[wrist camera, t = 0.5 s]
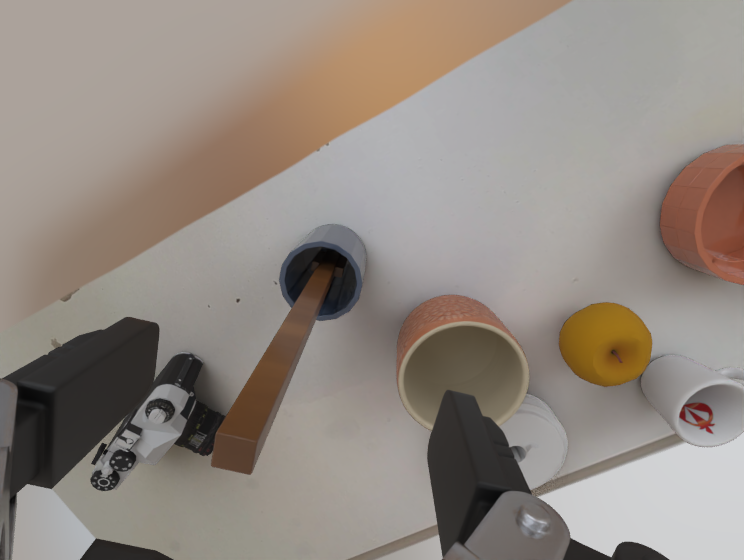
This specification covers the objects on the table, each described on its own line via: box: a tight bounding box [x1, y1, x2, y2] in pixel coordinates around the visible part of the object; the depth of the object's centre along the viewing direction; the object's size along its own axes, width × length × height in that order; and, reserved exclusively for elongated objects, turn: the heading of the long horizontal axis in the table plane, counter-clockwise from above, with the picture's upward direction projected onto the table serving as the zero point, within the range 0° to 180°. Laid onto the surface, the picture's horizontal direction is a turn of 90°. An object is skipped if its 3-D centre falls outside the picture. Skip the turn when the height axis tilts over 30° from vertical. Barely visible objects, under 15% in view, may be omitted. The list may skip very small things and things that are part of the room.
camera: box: [91, 352, 226, 491], centre depth 49 cm, size 15×11×10 cm
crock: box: [279, 224, 366, 321], centre depth 42 cm, size 7×7×10 cm
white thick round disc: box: [499, 393, 568, 490], centre depth 50 cm, size 13×13×5 cm
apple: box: [559, 302, 652, 387], centre depth 44 cm, size 8×8×9 cm
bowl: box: [660, 144, 744, 285], centre depth 41 cm, size 13×13×6 cm
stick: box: [211, 250, 347, 475], centre depth 31 cm, size 2×3×32 cm, turn 77°
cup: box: [641, 355, 744, 447], centre depth 46 cm, size 11×8×8 cm
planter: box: [396, 295, 529, 431], centre depth 44 cm, size 12×12×11 cm
